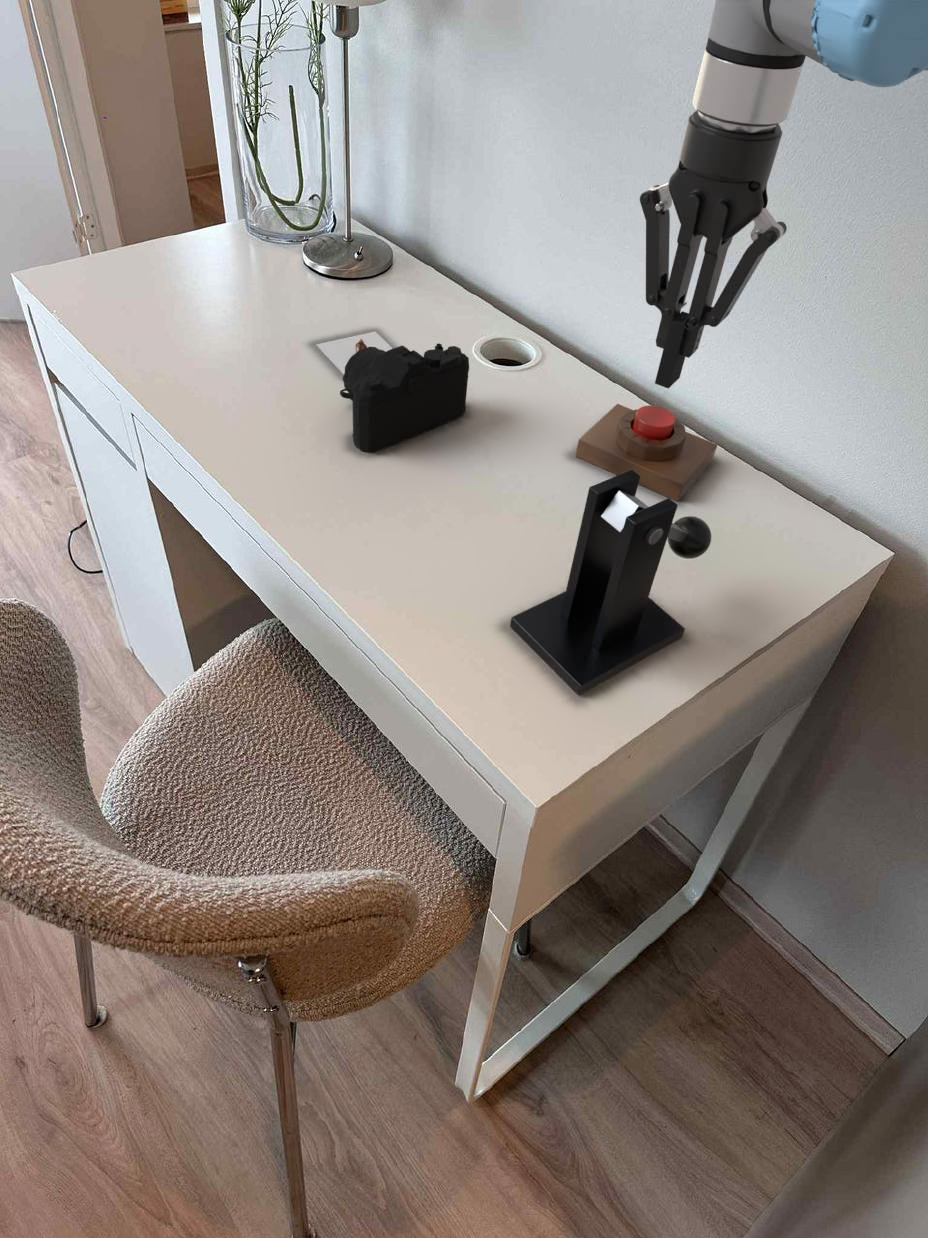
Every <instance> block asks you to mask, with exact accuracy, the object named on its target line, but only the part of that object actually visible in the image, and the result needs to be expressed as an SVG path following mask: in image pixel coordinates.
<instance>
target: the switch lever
mask: <svg viewBox="0 0 928 1238" xmlns="http://www.w3.org/2000/svg"><path fill="white" fill-rule="evenodd" d="M647 507H649V506H648V505H647V504H646V503H644V502H643V501H642V500H640V499H639V498H638V497H636V496H635V497H634V496H632V495H629V494H627V493H624V492H622V491H620V490H619V491H618V492H617V494H616V495H615V497H614V498H613V500H612V501H611V502H610V504H609V505H608V507H607V508H606V510H605V511H604V512H603V514H602V515H601V517H602V518H603V519H604V520H605V521H606V522H608V523H609V524H610V525H611V526H613V527H614V528H615V529H616V530H617V531H619V532H620V533H622V531H623V527H624V524H625V520H626V517H627V516H630V515H632V514H634V513H636V512H639V511H641V510H643V509H645V508H647ZM711 542H712V531H711V529H710V527H709V525H708V524H707V523H706V521H704V520H703V519H702V518H699V517H697V516H692V515H689V516H683V517H681V518H679V519H677V520H675V521H674V522H672V525H671V528H670V531H669V534H668V537H667V543H668V546H669V549H670V550H671V551H672V553H673V554H675V555H676V556H678V557H680V558H682V559H686V560H687V559H688V560H692V559H697V558H699V557H701V556H702V555H704V554H705V553H706V552H707V550H708V549H709V548H710V545H711Z"/></svg>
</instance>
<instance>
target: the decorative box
mask: <svg viewBox="0 0 928 1238" xmlns="http://www.w3.org/2000/svg"><path fill="white" fill-rule="evenodd" d="M315 345H316V347H317V348H318V349H319V350H320V351H321V352H322V353H323V355H325V356H326V357H327V358H328V359H329V361H331V363H332V364H333V365H334V366H335V368H337V369H338V370H339V371H340V373H341V374H342V375H343V376H344V373H345V366H346V364H347V362H348V361H349V359H350V358H351V357H352V355H354V354H355V353H357V352H358V351H359V350H361V349H363V348H368V347H376V348H377V349H380V350H384V351H385V352H386V351H388V350H391V349H393V347H392V346H391V345H390V344H389V343H388V342H387V341H386V340H385V339H384V338H383V337H382V336H381V335H380V334H379V333H378V332H377V331H376V330H375V331H372V332H371V331H370V332H367V333H362V334H357V335H353V336H349V337H345V338H340V339H335V340H330V341H325V342H321V343H317V344H315Z"/></svg>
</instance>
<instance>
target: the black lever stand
mask: <svg viewBox="0 0 928 1238" xmlns="http://www.w3.org/2000/svg"><path fill="white" fill-rule="evenodd" d="M639 480H640V475H638V474H637V473H636V472H634V471H633V470H629V471H627V472H625V473H622V474H620V475H617V474H616V475H615V476H612V477H610V478H607V479H605V480H603V481H601V482H598V483H596V484H594V485H591V486H588V487H589V488H588V491H587V496H586V501H585V504H584V509H583V514H582V518H581V521H580V527H579V531H578V536H577V541H576V546H575V548H574V549H575V550H574V553H573V558H572V563H571V567H570V572H569V576H568V580H567V585H566V589H565V591H563V592H561V593H559V594H556V595H555V596H553V597H551V598H549V599H547V600H545V601H542V602H540V603H538V604H536V605H534V606H532V607H529V608H528V609H526V610H524V611H522V612H520V613H517V614H515V615H512V616H511V619H510V624H509V627H510V628H511V629H512V630H513V632H515V633H516V634H517V635H518V636H519V638H520V639H522V640H523V641H524V643H525V644H527V645H528V646H529V648H530V649H531V650H533V651H534V652H535V654H536V655H537V656H538V657H539V658H540V659H542V660H543V662H544V663H545V664H547V665H548V667H549V668H550V669H551V670H552V671H553V672H554V673H555V674H556V675H557V676H559V678H560V679H561V680H562V681H563V682H564V683H565V684H566V685H567V686H568V687H569V688H570V689H571V690H572V691H573V692H574V693H575V694H576V695H577V696H580V695H582V694H584V693H585V692H587V691H590V690H591V689H593V688H595V687H597V686H598V685H600V684H602V683H603V682H606V681H607V680H609V679H611V678H613V677H615V676H616V675H618V674H620V673H622V672H623V671H625V670H627V669H629V668H630V667H632V666H634V665H636V664H638V663H640V662H641V661H643V660H645V659H646V658H649V657H650V656H652V655H654V654H655V653H658V652H659V651H661V650H663V649H665V648H666V647H668V646H670V645H672V644H674V643H675V642H677V641H679V640H681V639H682V638H683V637H684V633H685V631H686V628H685V627H684V626H683V625H682V624H680V622H678V621H677V620H676V619H675V618H673V617H672V616H671V615H670V614H669V613H668V612H667V611H666V610H665V609H663V608H662V607H661V606H660V605H659V604H657V603H656V602H655V601H654V600H653V599H652V598H650V597H649V596H650V593H651V590H652V587H653V584H654V581H655V577H656V574H657V571H658V569H659V566H660V563H661V559H662V556H663V553H664V550H665V546H666V545H667V541H668V534H669V531H670V528H671V525H672V523H674V518H675V516H676V512H677V509H678V504H677V503H676V501H674V500H673V499H671V498H669V497H666V498H665V499H663V500H661V501H658V502H656V503H654V504H652V505H650V506H648V507H647V508H645V509H643V510H641V511H639V512H636V513H634V514H632V515H630V516H627V517H626V520H625V524H624V527H623V531H622V533H620V532H619V531H617V530H616V529H615V528H614V527H613V526H611V525H610V524H609V523H608V522H606V521H605V520H604V519H603V518H602V517H601V515H602V514H603V512H604V511H605V510H606V508H607V507H608V505H609V504H610V502H611V501H612V500H613V498H614V497H615V495H616V494H617V492H618V491H619V490H620V491H622V492H624V493H627V494H629V495H632V496H634V497H636V494H637V490H638V486H639V484H638V483H639Z"/></svg>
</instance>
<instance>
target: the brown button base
mask: <svg viewBox="0 0 928 1238" xmlns="http://www.w3.org/2000/svg"><path fill="white" fill-rule="evenodd" d="M638 409H639V408H637V409H632V408H630V407H627V406H624V405H622V404H620V403H616V404H615V405H614V406H613V407H612V408H611V409H610V410H609V411H608V412H606V413H605V415H603V416H602V417H601V418H600V419H599V420H598V421H597V422H596V423H595V424H594V425H593V426H591V428H589V429H588V430H587V431H586V432H584V434H583V435H582V436H581V437H579V438H578V442H577V446H576V447H577V448H576V451H575V457H576V458H578V459H580V460H582V461H585V462H587V463H590V464H592V465H593V466H597V467H598V468H601V469H603V470H606V471H608V472H610V473H612V474H614V475H616V476H617V475H620V474H622V473H625V472H627V471H629V470H633V471H634V472H636V473H637V474H638V475H640V480H639V483H638V486H642V487H643V488H646V489H648V490H651V491H652V492H655V493H657V494H660V495H661V496H664V497H666V498H669V499H671V500H672V501H674V502H679V501H680V499H682V497H683V496H684V495H685V494H686V492H688V490H689V489H690V488H691V487H692V485H693V484H694V483H695V482H696V480H698V478H699V477H700V476H701V475H702V474H703V472H704V471H705V470H706V469H707V468H708V467H709V465H711V463H712V462H713V460H714V456H715V454H716V450H717V448H718V444H716V443H714V442H712V441H709V440H707V439H704V438H702V437H699V436H698V435H695V434H692V433H690V432H688V431H686V427H685V425H684V424H683V423H682V422H681V421H680V420H679V419H678V418H676V417H675V422H674V426H673V429H672V432H671V435H670V437H669V438H668V439H665V440H661V441H659V440H649V439H646V438H644V437H642V436H639V435H638V434H637V433H636V432H635V431H634V430H633V424H634V420H635V416H636V412H637V410H638Z"/></svg>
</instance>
